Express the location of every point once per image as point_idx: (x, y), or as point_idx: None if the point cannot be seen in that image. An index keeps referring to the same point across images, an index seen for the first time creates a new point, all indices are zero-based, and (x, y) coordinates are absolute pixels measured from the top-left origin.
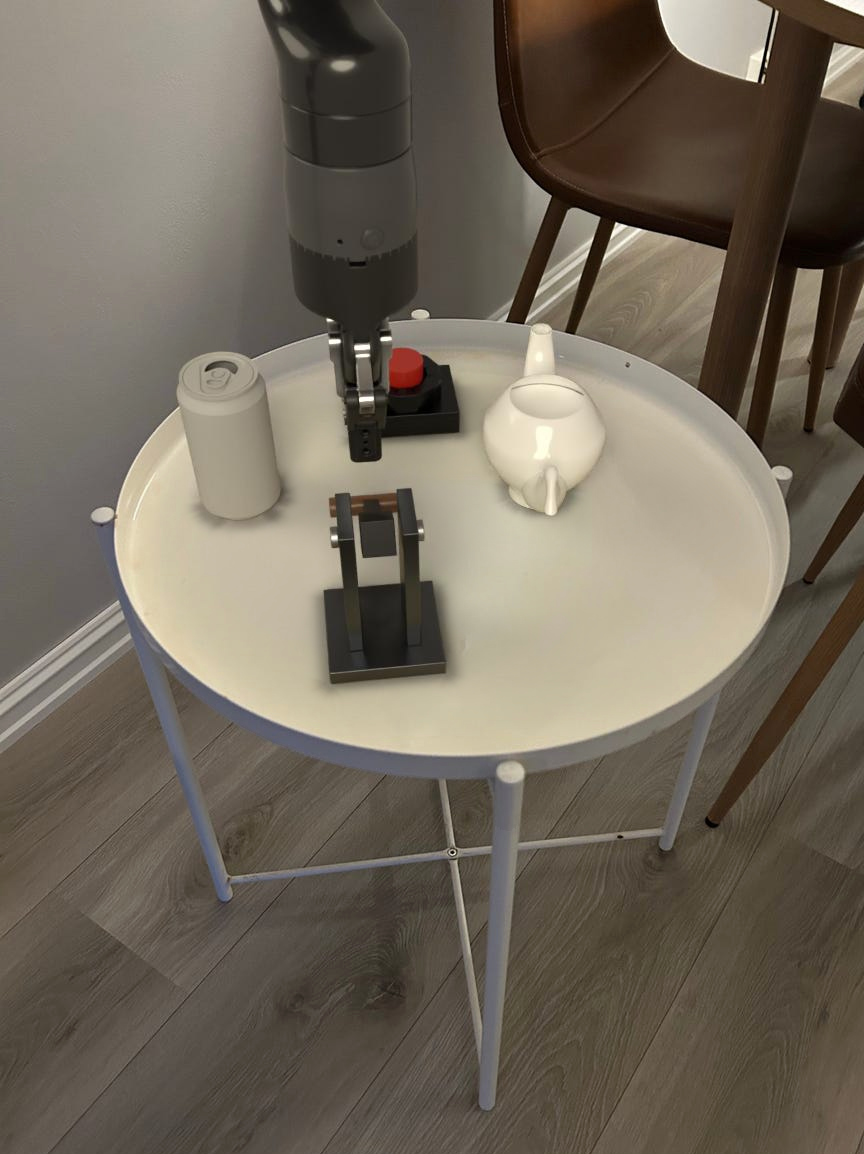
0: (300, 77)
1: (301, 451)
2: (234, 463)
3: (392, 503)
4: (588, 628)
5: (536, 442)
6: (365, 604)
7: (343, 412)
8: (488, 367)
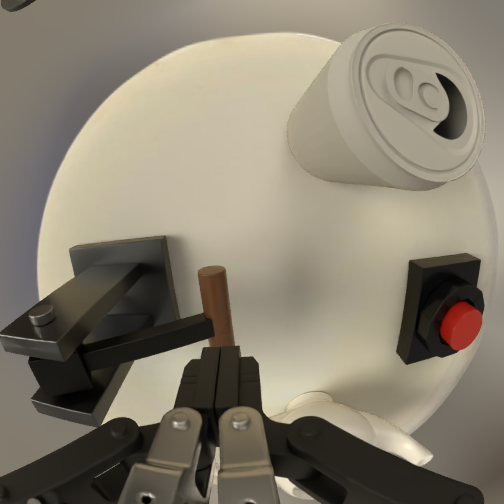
0: None
1: (400, 203)
2: (303, 126)
3: None
4: (159, 419)
5: None
6: (143, 281)
7: (174, 421)
8: (456, 361)
